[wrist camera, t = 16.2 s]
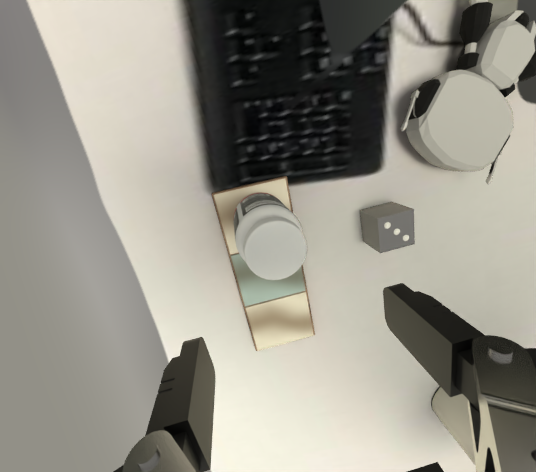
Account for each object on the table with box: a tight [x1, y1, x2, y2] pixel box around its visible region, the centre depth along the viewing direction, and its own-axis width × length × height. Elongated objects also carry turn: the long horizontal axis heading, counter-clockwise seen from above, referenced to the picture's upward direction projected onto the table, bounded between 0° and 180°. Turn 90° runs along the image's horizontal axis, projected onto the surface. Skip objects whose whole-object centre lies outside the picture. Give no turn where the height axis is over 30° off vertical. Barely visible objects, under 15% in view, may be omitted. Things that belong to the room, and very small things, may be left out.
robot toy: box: [401, 0, 536, 184], centre depth 27 cm, size 12×4×15 cm
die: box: [360, 202, 415, 253], centre depth 30 cm, size 4×4×4 cm
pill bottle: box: [233, 192, 307, 280], centre depth 24 cm, size 6×6×10 cm
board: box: [212, 176, 315, 351], centre depth 31 cm, size 21×8×1 cm, turn 12°
